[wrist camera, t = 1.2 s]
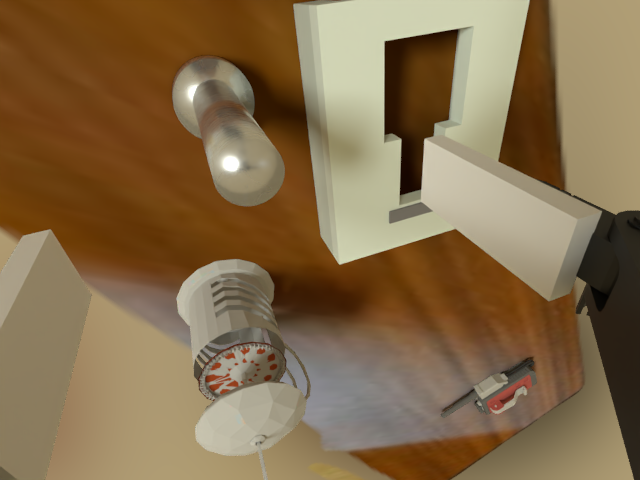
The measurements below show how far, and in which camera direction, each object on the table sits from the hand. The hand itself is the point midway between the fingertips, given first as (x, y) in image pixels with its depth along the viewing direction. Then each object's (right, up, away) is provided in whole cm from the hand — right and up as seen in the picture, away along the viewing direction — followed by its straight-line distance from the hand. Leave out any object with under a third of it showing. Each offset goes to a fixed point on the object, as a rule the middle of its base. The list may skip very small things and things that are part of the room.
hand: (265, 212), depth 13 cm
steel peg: (-6, +10, +14) cm, 18 cm away
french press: (-7, -7, +25) cm, 27 cm away
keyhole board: (+9, +10, +20) cm, 24 cm away
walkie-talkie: (+34, -29, +58) cm, 73 cm away
